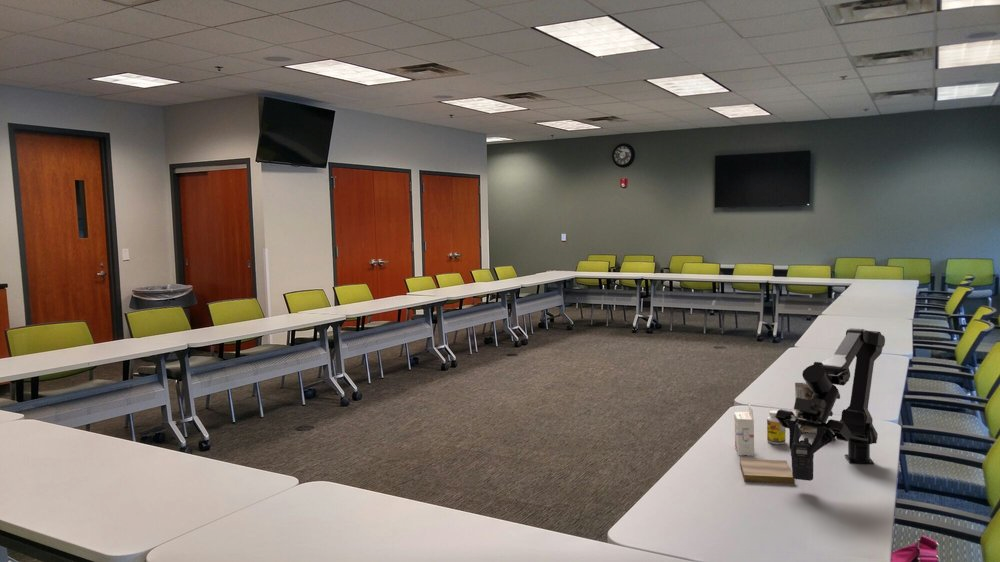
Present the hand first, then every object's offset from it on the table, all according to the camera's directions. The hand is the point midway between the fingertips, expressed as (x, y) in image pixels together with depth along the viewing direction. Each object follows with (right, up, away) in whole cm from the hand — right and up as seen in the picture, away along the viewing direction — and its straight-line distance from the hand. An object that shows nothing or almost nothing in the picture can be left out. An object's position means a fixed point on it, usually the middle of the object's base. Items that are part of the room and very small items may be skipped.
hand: (800, 451), depth 178 cm
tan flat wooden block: (-3, -10, +14) cm, 18 cm away
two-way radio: (+1, -8, +2) cm, 8 cm away
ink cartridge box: (-2, -9, +35) cm, 36 cm away
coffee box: (+27, -7, +53) cm, 60 cm away
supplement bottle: (+11, -8, +42) cm, 44 cm away
